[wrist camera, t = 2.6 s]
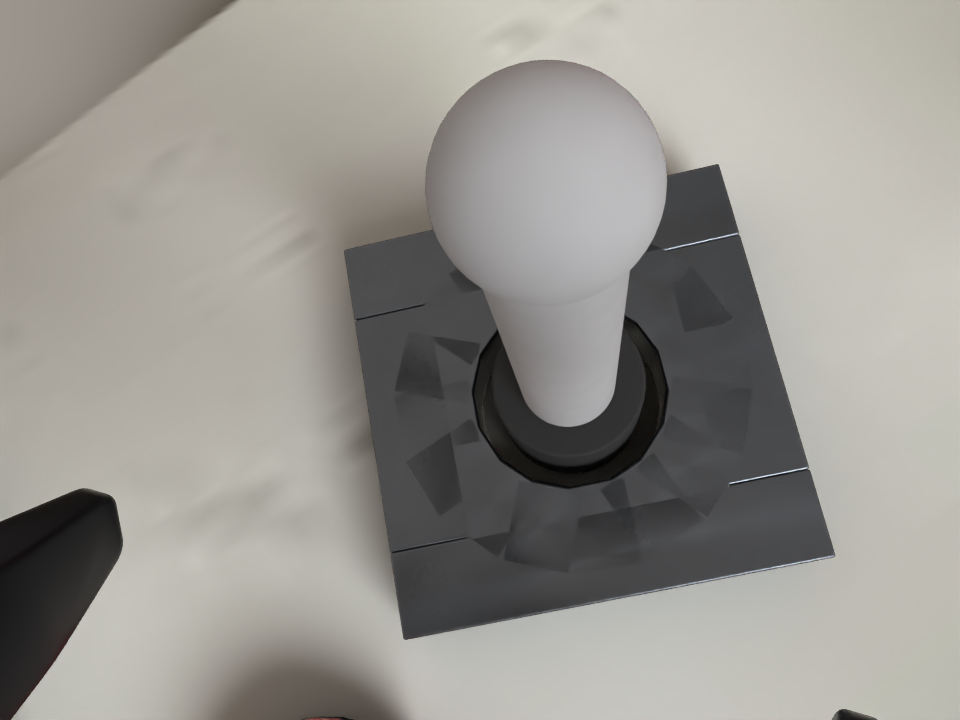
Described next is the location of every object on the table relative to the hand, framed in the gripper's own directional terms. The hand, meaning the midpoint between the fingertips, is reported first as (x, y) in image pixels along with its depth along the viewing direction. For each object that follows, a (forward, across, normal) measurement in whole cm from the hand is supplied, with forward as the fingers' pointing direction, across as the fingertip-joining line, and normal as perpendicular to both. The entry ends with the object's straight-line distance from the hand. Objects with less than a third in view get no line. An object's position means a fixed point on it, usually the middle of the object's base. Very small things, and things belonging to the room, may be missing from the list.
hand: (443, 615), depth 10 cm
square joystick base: (+12, 0, +5) cm, 13 cm away
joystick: (+12, 0, +5) cm, 13 cm away
